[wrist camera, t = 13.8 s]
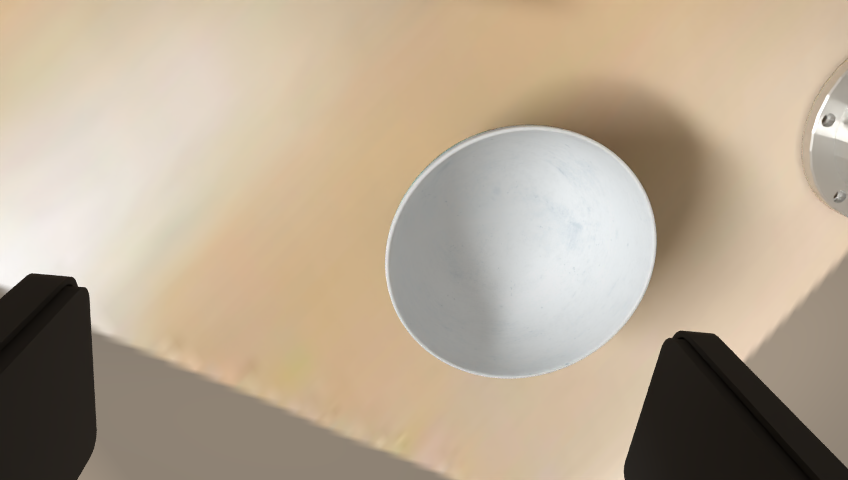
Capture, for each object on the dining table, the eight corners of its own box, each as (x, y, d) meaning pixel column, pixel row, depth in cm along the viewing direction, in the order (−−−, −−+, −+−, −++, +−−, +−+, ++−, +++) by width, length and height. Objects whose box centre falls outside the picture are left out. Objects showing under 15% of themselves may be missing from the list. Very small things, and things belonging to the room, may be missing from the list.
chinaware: (554, 338, 46) (589, 403, 39) (353, 283, 43) (350, 343, 36) (646, 142, 41) (705, 177, 34) (426, 66, 38) (440, 86, 31)
